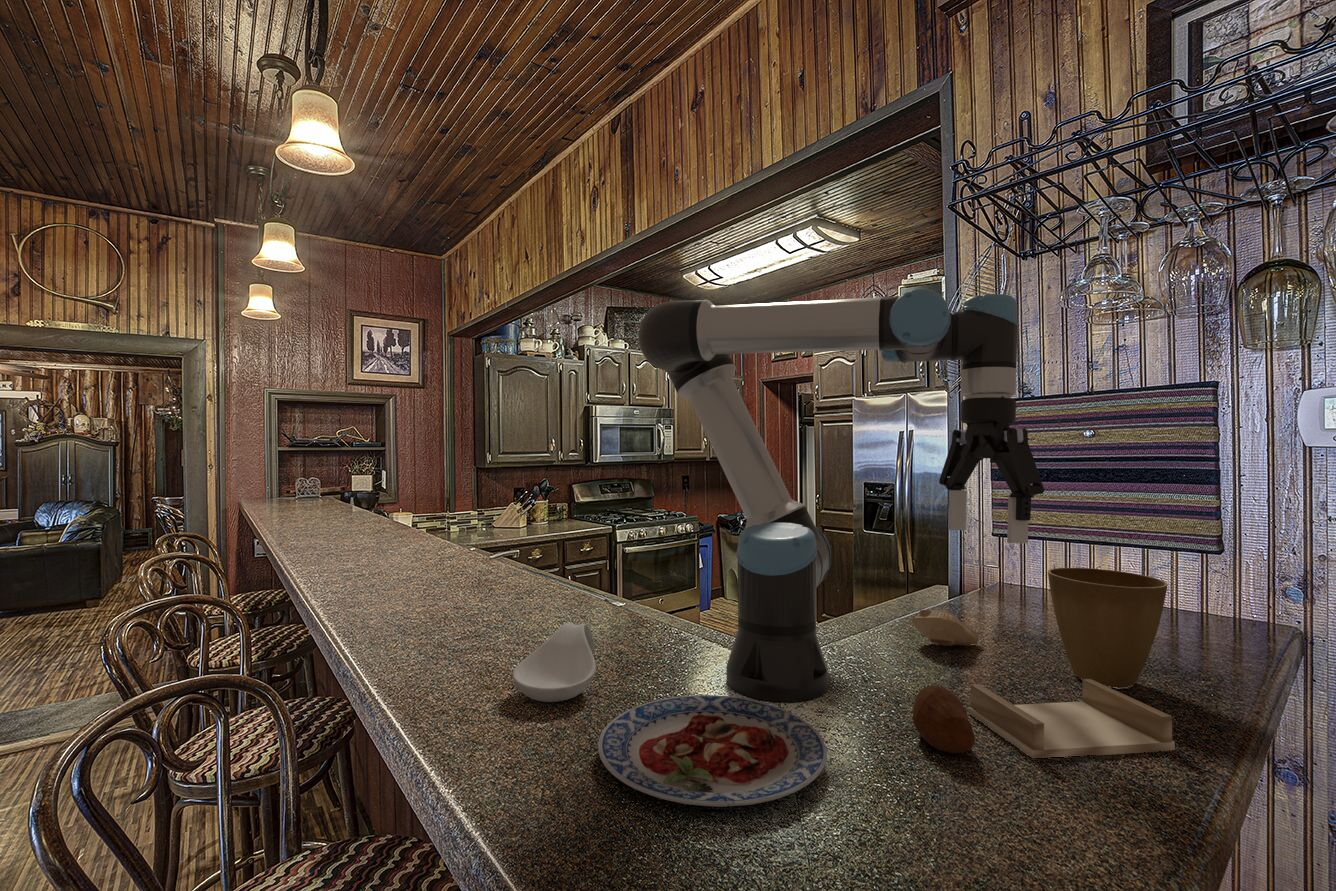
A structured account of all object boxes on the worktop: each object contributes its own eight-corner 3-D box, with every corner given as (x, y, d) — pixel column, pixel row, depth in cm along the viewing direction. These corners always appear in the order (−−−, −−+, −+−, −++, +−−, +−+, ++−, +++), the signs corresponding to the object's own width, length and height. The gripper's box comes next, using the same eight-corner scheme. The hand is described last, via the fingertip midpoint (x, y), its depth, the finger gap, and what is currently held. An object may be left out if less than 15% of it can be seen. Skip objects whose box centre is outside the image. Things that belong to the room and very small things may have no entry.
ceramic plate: (689, 695, 89) (689, 674, 89) (864, 751, 73) (864, 725, 73) (549, 766, 69) (549, 739, 69) (746, 864, 53) (746, 829, 53)
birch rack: (1031, 759, 70) (1031, 724, 70) (968, 714, 82) (968, 684, 82) (1174, 750, 72) (1174, 716, 72) (1092, 708, 84) (1092, 678, 84)
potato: (938, 768, 68) (937, 710, 68) (897, 722, 80) (897, 672, 80) (992, 768, 69) (991, 709, 69) (943, 722, 80) (943, 672, 80)
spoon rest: (586, 714, 83) (587, 660, 83) (500, 712, 84) (501, 658, 84) (613, 656, 106) (614, 614, 107) (546, 654, 107) (546, 613, 107)
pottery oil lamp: (995, 653, 107) (995, 612, 107) (932, 657, 105) (932, 615, 105) (962, 638, 116) (962, 600, 116) (904, 641, 114) (903, 603, 114)
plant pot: (1114, 705, 85) (1114, 589, 85) (1025, 668, 99) (1025, 569, 100) (1194, 694, 89) (1193, 582, 89) (1097, 660, 103) (1097, 564, 104)
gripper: (1076, 392, 84) (1072, 549, 84) (958, 403, 108) (955, 525, 108) (1027, 390, 82) (1023, 549, 82) (919, 402, 107) (916, 525, 107)
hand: (985, 536), depth 95 cm, fingers open, 13 cm apart
